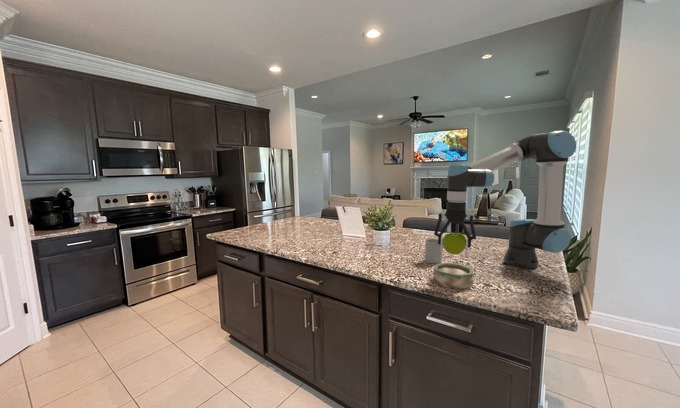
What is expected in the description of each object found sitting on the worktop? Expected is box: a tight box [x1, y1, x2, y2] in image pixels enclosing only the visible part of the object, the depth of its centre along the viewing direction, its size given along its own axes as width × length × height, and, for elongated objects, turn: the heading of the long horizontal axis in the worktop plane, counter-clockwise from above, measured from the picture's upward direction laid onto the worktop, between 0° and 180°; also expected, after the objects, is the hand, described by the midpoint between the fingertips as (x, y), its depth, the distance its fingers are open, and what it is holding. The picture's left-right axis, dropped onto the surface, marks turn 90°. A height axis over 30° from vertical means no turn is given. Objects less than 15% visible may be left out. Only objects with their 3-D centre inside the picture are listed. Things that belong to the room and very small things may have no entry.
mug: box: [424, 238, 443, 264], centre depth 152 cm, size 12×8×11 cm
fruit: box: [443, 231, 467, 255], centre depth 122 cm, size 9×9×10 cm
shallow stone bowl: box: [432, 262, 474, 290], centre depth 124 cm, size 16×16×6 cm
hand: (453, 253), depth 122 cm, fingers closed on fruit, 9 cm apart
